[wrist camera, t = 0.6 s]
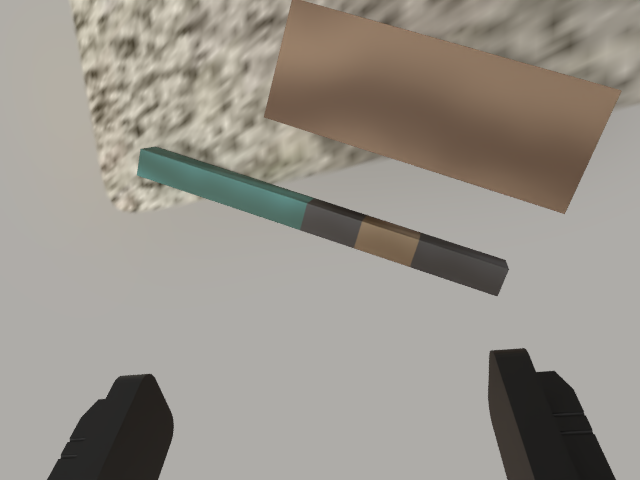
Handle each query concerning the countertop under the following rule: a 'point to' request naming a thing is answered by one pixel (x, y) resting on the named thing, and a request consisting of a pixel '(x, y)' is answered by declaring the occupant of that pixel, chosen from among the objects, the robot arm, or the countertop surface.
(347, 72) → the walnut block
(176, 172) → the lane
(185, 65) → the countertop surface
